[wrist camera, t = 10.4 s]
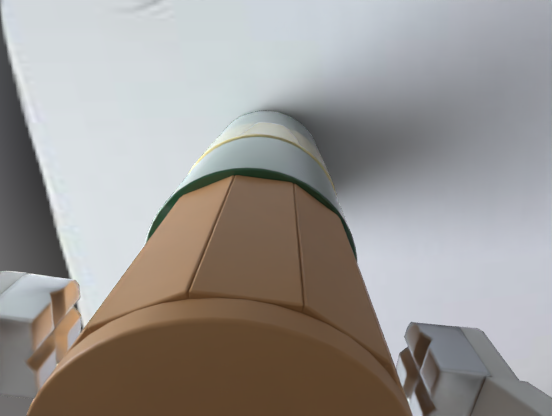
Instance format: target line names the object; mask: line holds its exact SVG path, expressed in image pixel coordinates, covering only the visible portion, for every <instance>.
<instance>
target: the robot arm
mask: <svg viewBox="0 0 552 416" xmlns="http://www.w3.org/2000/svg"><path fill="white" fill-rule="evenodd" d="M79 299H80V287H79V284H78V283H77V281H76V280H71V279H64V278H57V277H50V276H43V275H36V274H28V273H22V272H14V271H3V272H0V396H7V397H18V398H19V397H20V398H31V399H34V398H35V397H36V395H37V393H38V391H39V390H40V388H41V387H42V386H43V384H44V383H45V381H46V380H47V379H48V377H49V376H50V375H51V373H52V372H53V370H54V369H55V368H56V365H57V364H58V363H59V362H60V361H61V359H62V358H63V357H64V355H65V354H66V353H67V351H68V350H69V348H70V347H71V346H72V344H73V343H74V342H75V340H76V339H77V337H78V336H79V335H80V330H81V314H80V313H79V312H78V310H77V309H76V308H75V307H74V305H75V304H76V302H77V301H78V300H79ZM404 338H405V340H406V342H407V345H408V347H407V348H405V349H404V350H403V351H402V352H400V353H399V357H398V361H397V365H396V371H397V373H398V376H399V379H400V382H401V384H402V387H403V390H404V393H405V395H406V398H407V401H408V404H409V406H410V409H411V412H412V415H413V416H552V398H551V397H550V396H548V395H547V394H545V393H544V392H542V391H541V390H539V389H538V388H536V387H534V386H533V385H531V384H530V383H528V382H525V381H519V379H518V378H517V377H516V375H515V374H514V372H513V371H512V370H511V368H510V367H509V366H508V364H507V363H506V362H505V360H504V359H503V358H502V356H501V355H500V354H499V352H498V351H497V350H496V348H495V347H494V346H493V344H492V343H491V341H490V340H489V339H488V337H487V336H486V335H485V333H484V332H483V331H481V330H480V329H478V328H470V327H458V326H445V325H435V324H425V323H416V322H411V323H410V324H409V326H408V327H407V330H406V333H405V336H404Z"/></svg>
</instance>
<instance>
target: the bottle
mask: <svg viewBox="0 0 552 416" xmlns="http://www.w3.org/2000/svg"><path fill="white" fill-rule="evenodd" d="M232 175H233V176H235V175H241V176H248V177H256V178H263V179H271V180H278V181H286V182H292V183H293V184H297V185H298V186H299V187H301V188H302V189H303V190H304V191H306V192H307V193H308V194H310V195H311V196H312V197H314V198H315V199H316V200H318V201H319V202H320V203H322V204H323V205H324V206H326V207H327V208H328V209H330V210H331V211H332V212H334V213H335V214H336V215H338V217H339V218H340V220H341V222H342V225H343V227H344V230H345V233H346V235H347V238H348V240H349V243H350V246H351V248H352V251H353V253H354V256H355V259H356V261H357V254H356V247H355V244H354V240H353V237H352V234H351V231H350V229H349V226H348V224H347V221H346V219H345V216H344V213H343V211H342V208H341V206H340V203H339V201H338V198H337V194H336V191H335V187H334V184H333V182H332V179H331V177H330V174H329V172H328V170H327V167H326V165H325V163H324V160H323V158H322V156H321V155H320V152H319V150H318V147H317V145H316V143H315V141H314V139H313V137H312V135H311V134H310V132H309V131H308V130H307V129H306V128H305V127H304V126H303V125H302V124H301V123H300V122H299V121H297V120H296V119H294V118H292V117H290V116H288V115H286V114H283V113H280V112H276V111H266V110H265V111H255V112H251V113H248V114H245V115H243V116H241V117H239V118H237V119H236V120H234V121H233V122H231V123H230V124H229V125H228V126H227V127H226V128H225V129H224V130H223V132H222V133H221V134H220V135H219V137H218V138H217V139H216V140H215V141H214V142H212V144H211V145H210V146H209V147H208V148H207V150H206V151H205V152H204V153H203V154H202V156H201V157H200V158H199V159H198V161H197V162H196V163H195V164H194V165H193V167H192V168H191V170H190V172H189V173H188V175H187V176H186V177H185V179H184V180H183V181H182V182H181V184H180V185H179V186H178V187H177V189H176V190H175V191H174V192H173V193H172V195H171V196H170V197H169V198H168V200H167V201H166V202H165V203H164V205H163V206H162V207H161V208H160V210H159V211H158V213H157V214H156V216H155V218H154V219H153V221H152V223H151V226H150V228H149V230H148V233H147V237H146V241H145V245H146V243H147V242H148V240H149V239H150V238H151V236H152V235H153V234H154V232H155V231H156V229H157V228H158V227H159V225H160V224H161V223H162V221H163V220H164V219H165V217H166V216H167V214H168V213H169V212H170V210H171V209H172V208H173V206H174V205H175V204H176V202H177V201H178V199H179V198H180V197H182V196H183V195H185V194H187V193H190V192H192V191H195V190H197V189H200V188H202V187H205V186H207V185H210V184H212V183H215V182H217V181H220V180H222V179H225V178H227V177H230V176H232ZM145 245H144V246H145Z"/></svg>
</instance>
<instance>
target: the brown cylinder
mask: <svg viewBox="0 0 552 416" xmlns="http://www.w3.org/2000/svg"><path fill="white" fill-rule="evenodd" d="M27 416H413V415H412V412H411V409H410V406H409V404H408V401H407V398H406V395H405V393H404V390H403V387H402V384H401V382H400V379H399V376H398V373H397V371H396V368H395V365H394V363H393V360H392V357H391V354H390V352H389V349H388V346H387V343H386V341H385V338H384V335H383V332H382V330H381V327H380V324H379V321H378V319H377V316H376V313H375V310H374V308H373V305H372V302H371V300H370V297H369V294H368V291H367V289H366V286H365V283H364V280H363V278H362V275H361V272H360V269H359V267H358V264H357V261H356V259H355V256H354V253H353V251H352V248H351V246H350V243H349V240H348V238H347V235H346V233H345V230H344V227H343V225H342V222H341V220H340V218H339V217H338V215H336V214H335V213H334V212H332V211H331V210H330V209H328V208H327V207H326V206H324V205H323V204H322V203H320V202H319V201H318V200H316V199H315V198H314V197H312V196H311V195H310V194H308V193H307V192H306V191H304V190H303V189H302V188H301V187H299V186H298V185H297V184H293V183H292V182H286V181H278V180H271V179H263V178H256V177H248V176H241V175H235V176H233V175H232V176H230V177H227V178H225V179H222V180H220V181H217V182H215V183H212V184H210V185H207V186H205V187H202V188H200V189H197V190H195V191H192V192H190V193H187V194H185V195H183V196H182V197H180V198H179V199H178V201H177V202H176V204H175V205H174V206H173V208H172V209H171V210H170V212H169V213H168V214H167V216H166V217H165V219H164V220H163V221H162V223H161V224H160V225H159V227H158V228H157V229H156V231H155V232H154V234H153V235H152V236H151V238H150V239H149V240H148V242H147V243H146V245H145V246H144V247H143V249H142V250H141V251H140V253H139V254H138V255H137V257H136V258H135V260H134V261H133V262H132V264H131V265H130V266H129V268H128V269H127V270H126V272H125V273H124V275H123V276H122V277H121V279H120V280H119V281H118V283H117V284H116V285H115V287H114V288H113V290H112V291H111V292H110V294H109V295H108V296H107V298H106V299H105V300H104V302H103V303H102V305H101V306H100V307H99V309H98V310H97V311H96V313H95V314H94V316H93V317H92V318H91V320H90V321H89V322H88V324H87V325H86V326H85V328H84V329H83V331H82V332H81V333H80V335H79V336H78V337H77V339H76V340H75V342H74V343H73V344H72V346H71V347H70V348H69V350H68V351H67V353H66V354H65V355H64V357H63V358H62V359H61V361H60V362H59V364H58V365H57V366H56V368H55V369H54V370H53V372H52V373H51V375H50V376H49V377H48V379H47V380H46V381H45V383H44V384H43V386H42V387H41V388H40V390H39V391H38V393H37V395H36V397H35V398H34V400H33V402H32V403H31V405H30V407H29V410H28V413H27Z"/></svg>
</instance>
